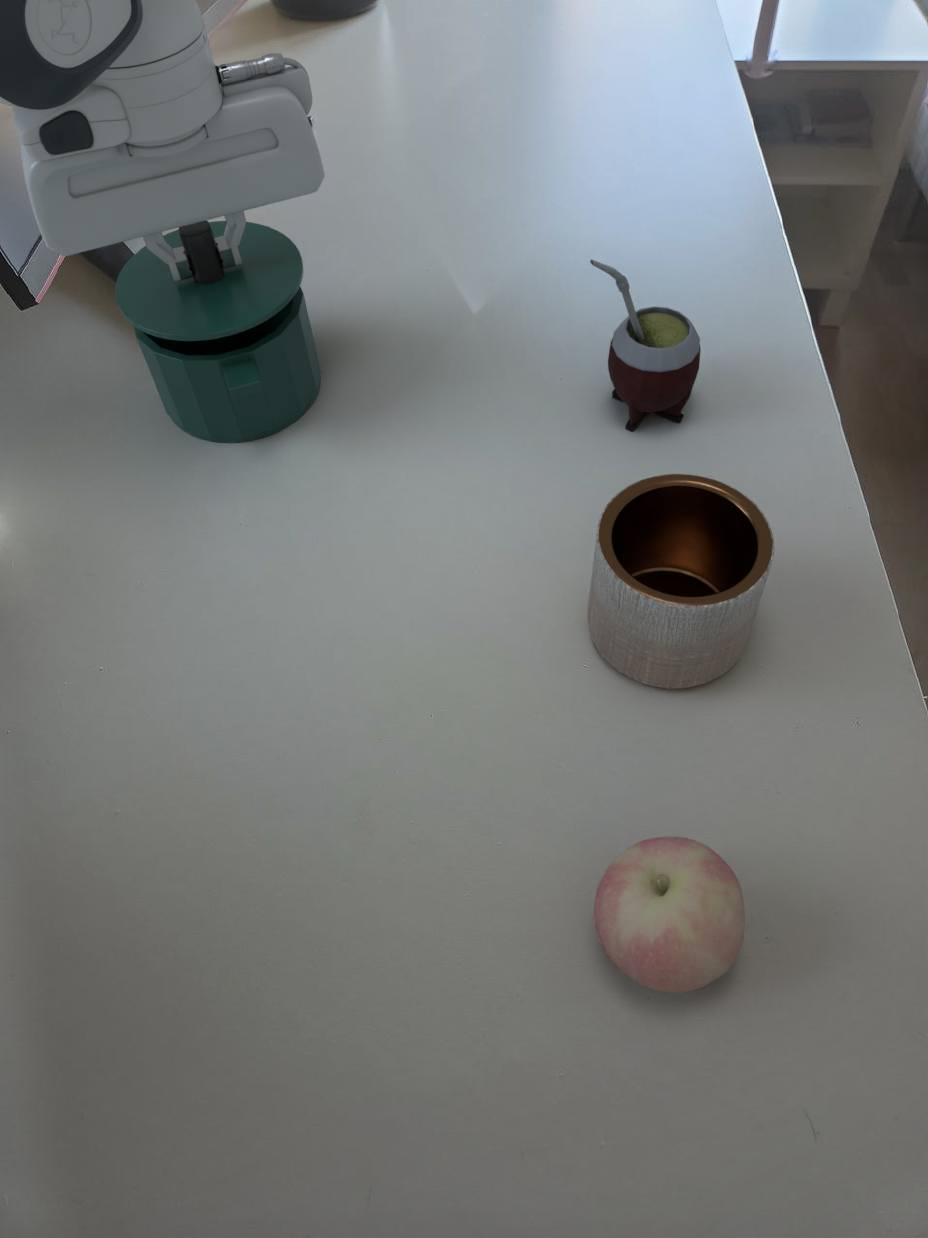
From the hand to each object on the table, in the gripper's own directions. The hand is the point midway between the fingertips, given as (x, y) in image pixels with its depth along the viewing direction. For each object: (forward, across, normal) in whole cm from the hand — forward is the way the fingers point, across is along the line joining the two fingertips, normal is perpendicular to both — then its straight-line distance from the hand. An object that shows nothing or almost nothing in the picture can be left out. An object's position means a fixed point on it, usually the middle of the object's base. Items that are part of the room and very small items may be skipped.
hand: (206, 269), depth 73 cm
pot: (+12, 0, 0) cm, 12 cm away
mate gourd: (+12, -30, +16) cm, 36 cm away
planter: (+12, -22, +36) cm, 44 cm away
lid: (+1, 0, 0) cm, 1 cm away
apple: (+12, -12, +55) cm, 58 cm away
